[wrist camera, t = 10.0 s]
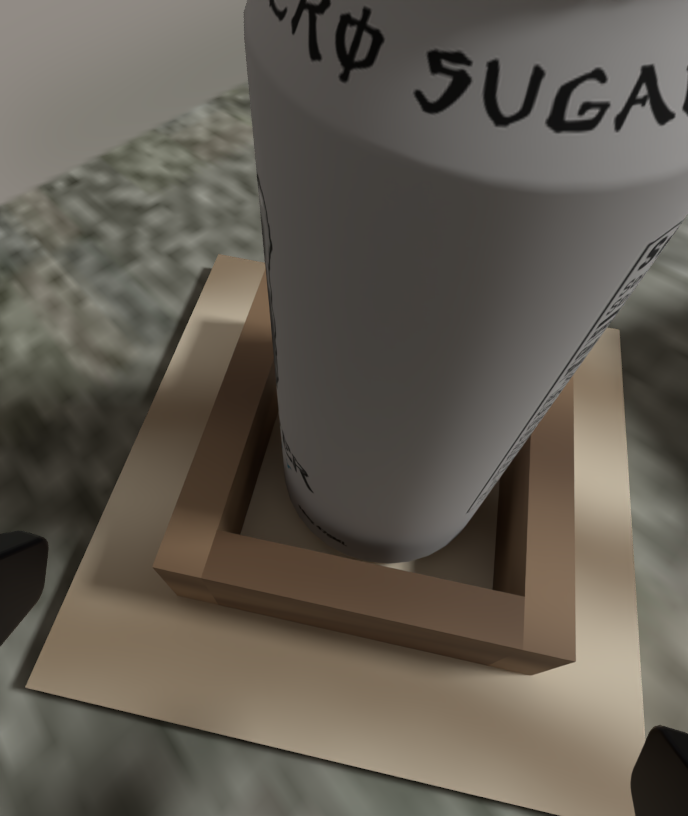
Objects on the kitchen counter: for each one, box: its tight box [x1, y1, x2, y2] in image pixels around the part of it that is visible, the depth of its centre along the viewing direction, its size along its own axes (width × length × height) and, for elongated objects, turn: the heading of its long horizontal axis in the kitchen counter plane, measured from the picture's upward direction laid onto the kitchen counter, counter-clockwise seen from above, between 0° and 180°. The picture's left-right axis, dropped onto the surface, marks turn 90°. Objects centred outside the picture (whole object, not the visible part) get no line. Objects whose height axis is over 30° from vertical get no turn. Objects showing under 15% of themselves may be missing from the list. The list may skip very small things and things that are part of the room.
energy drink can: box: [244, 0, 688, 564], centre depth 12 cm, size 6×6×15 cm
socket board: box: [25, 254, 645, 816], centre depth 17 cm, size 16×16×4 cm
